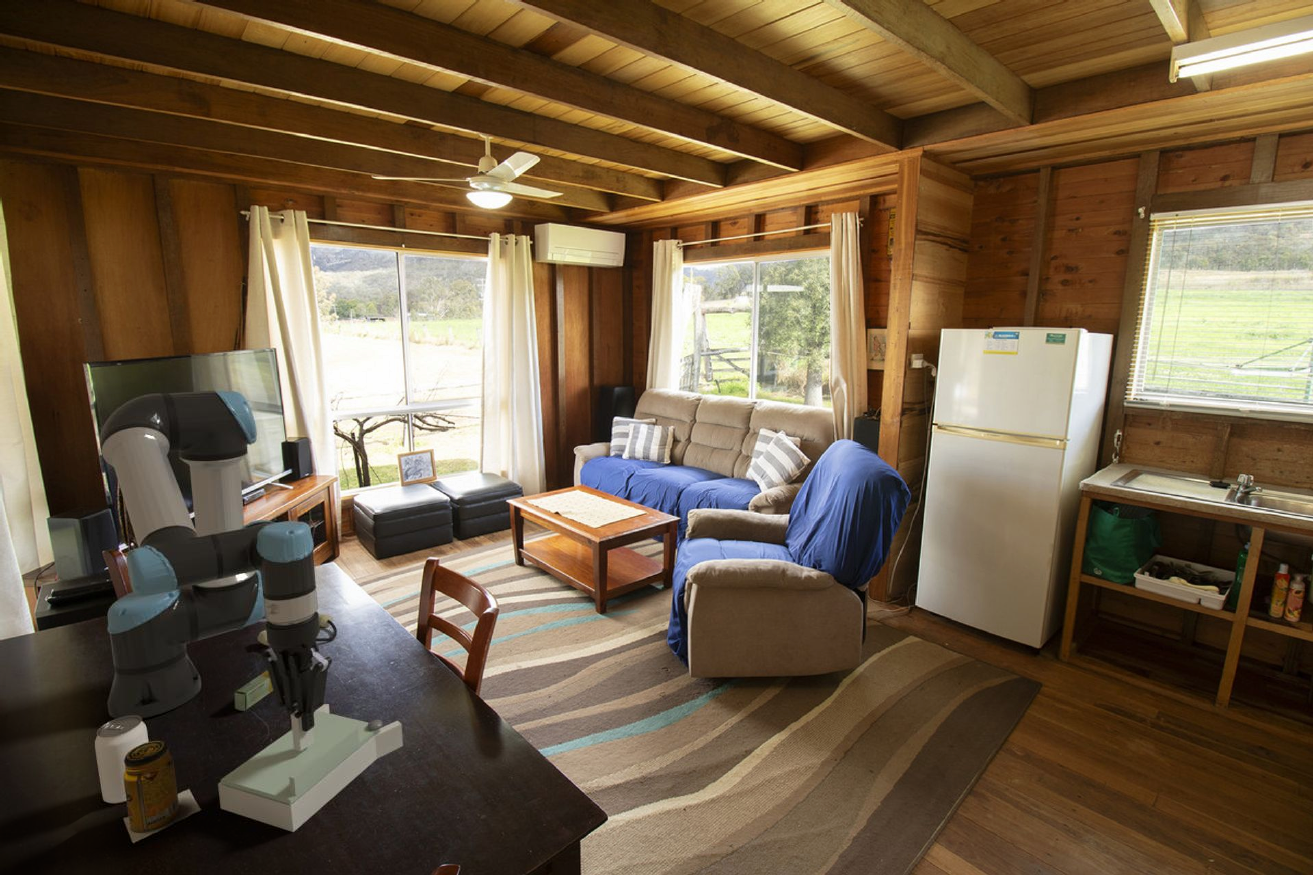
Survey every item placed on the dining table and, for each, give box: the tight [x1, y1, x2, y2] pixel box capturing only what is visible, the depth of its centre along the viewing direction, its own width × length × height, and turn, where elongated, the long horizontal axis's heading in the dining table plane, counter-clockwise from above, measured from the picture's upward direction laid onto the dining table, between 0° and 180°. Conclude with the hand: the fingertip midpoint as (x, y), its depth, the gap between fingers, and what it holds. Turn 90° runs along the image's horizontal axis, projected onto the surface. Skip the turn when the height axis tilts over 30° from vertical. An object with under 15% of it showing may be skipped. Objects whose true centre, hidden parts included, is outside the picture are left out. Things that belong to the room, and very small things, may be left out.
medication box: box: [234, 670, 274, 712], centre depth 129 cm, size 12×3×4 cm, turn 170°
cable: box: [257, 613, 338, 648], centre depth 150 cm, size 16×16×4 cm
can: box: [94, 715, 149, 804], centre depth 100 cm, size 6×6×12 cm
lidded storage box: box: [217, 703, 404, 833], centre depth 106 cm, size 22×19×4 cm
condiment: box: [123, 740, 202, 844], centre depth 95 cm, size 7×8×12 cm
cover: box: [220, 711, 383, 804], centre depth 103 cm, size 15×20×4 cm
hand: (304, 745), depth 103 cm, fingers closed
